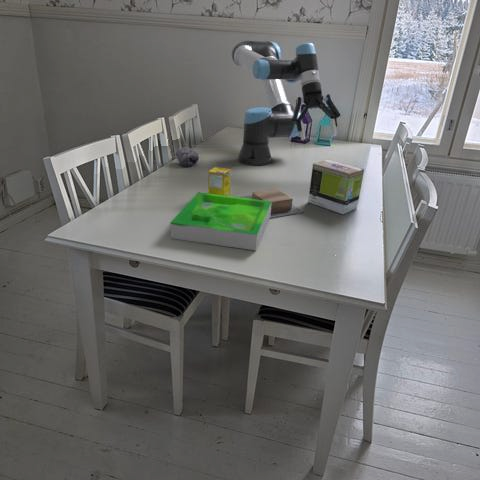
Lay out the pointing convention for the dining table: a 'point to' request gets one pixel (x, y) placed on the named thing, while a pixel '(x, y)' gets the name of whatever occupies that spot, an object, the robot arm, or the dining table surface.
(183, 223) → the tray
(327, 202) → the tea box
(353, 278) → the dining table surface
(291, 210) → the plate
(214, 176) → the supplement box
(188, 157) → the pumice stone
